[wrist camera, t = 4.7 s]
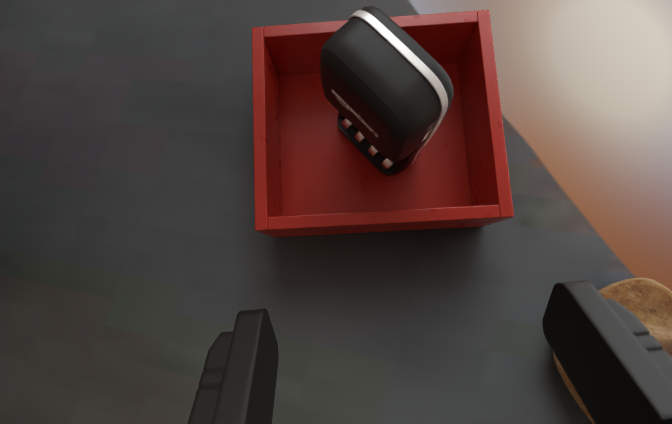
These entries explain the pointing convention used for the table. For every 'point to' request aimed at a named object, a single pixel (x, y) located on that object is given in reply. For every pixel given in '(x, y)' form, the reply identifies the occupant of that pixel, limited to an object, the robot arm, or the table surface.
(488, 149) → the open red box
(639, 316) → the stone cup
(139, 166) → the table surface
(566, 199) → the table surface
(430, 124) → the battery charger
